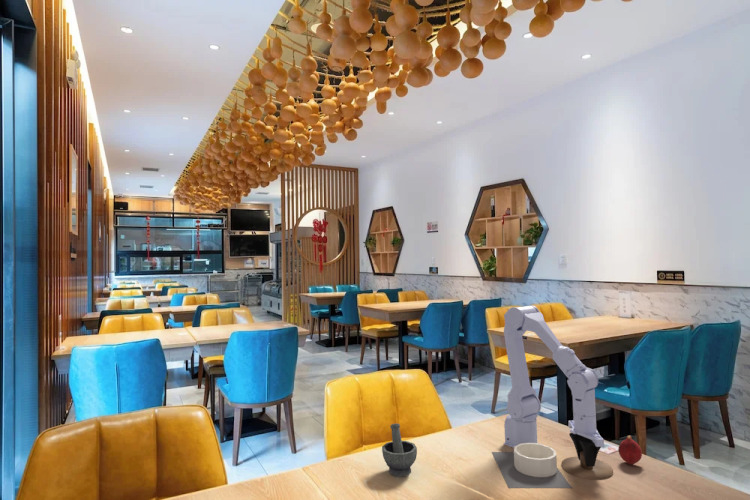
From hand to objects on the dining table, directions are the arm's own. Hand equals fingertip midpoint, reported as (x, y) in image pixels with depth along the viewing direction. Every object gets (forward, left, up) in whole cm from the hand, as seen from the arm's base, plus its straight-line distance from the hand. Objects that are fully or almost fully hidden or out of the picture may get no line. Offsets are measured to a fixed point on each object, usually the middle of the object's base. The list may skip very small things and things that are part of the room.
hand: (586, 462), depth 125 cm
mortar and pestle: (-35, -38, -2) cm, 52 cm away
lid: (0, 0, -2) cm, 2 cm away
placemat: (-11, -12, -2) cm, 16 cm away
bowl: (-9, -10, -1) cm, 14 cm away
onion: (+7, +12, -2) cm, 14 cm away
